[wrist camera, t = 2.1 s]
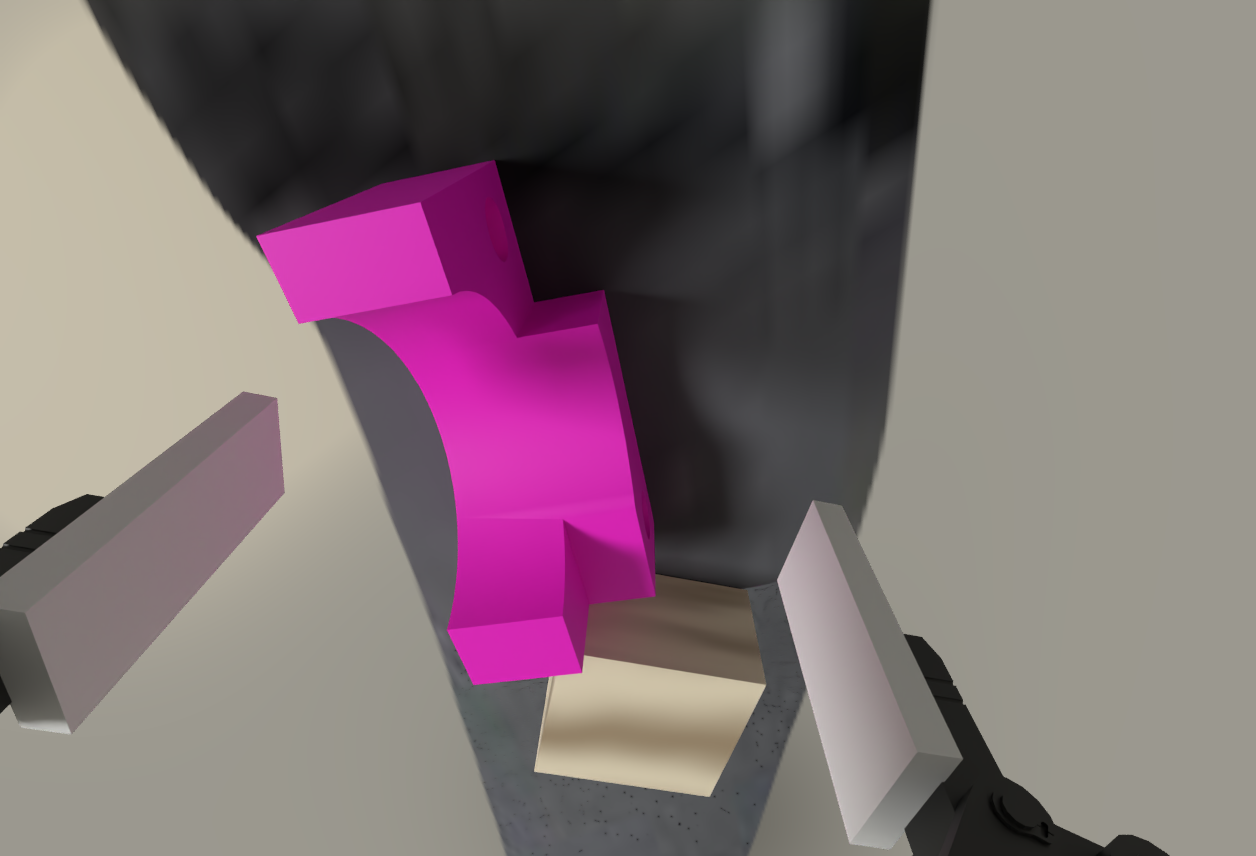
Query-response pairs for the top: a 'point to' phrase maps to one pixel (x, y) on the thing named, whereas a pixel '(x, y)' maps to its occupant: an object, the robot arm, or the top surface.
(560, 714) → the riser
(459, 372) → the toy block
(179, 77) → the top surface
